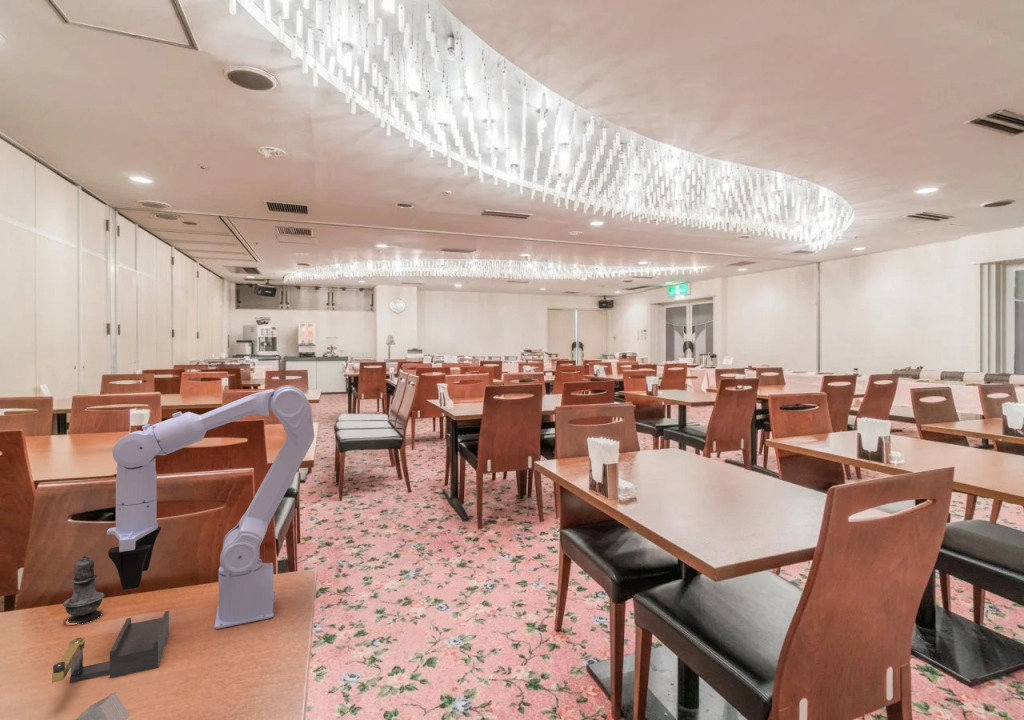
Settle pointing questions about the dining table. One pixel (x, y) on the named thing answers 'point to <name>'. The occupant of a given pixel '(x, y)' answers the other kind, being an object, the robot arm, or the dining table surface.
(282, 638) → the dining table surface
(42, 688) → the dining table surface
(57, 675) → the lever
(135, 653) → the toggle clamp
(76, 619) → the grey tall flared piece
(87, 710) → the knobbed drawer block
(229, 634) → the dining table surface
